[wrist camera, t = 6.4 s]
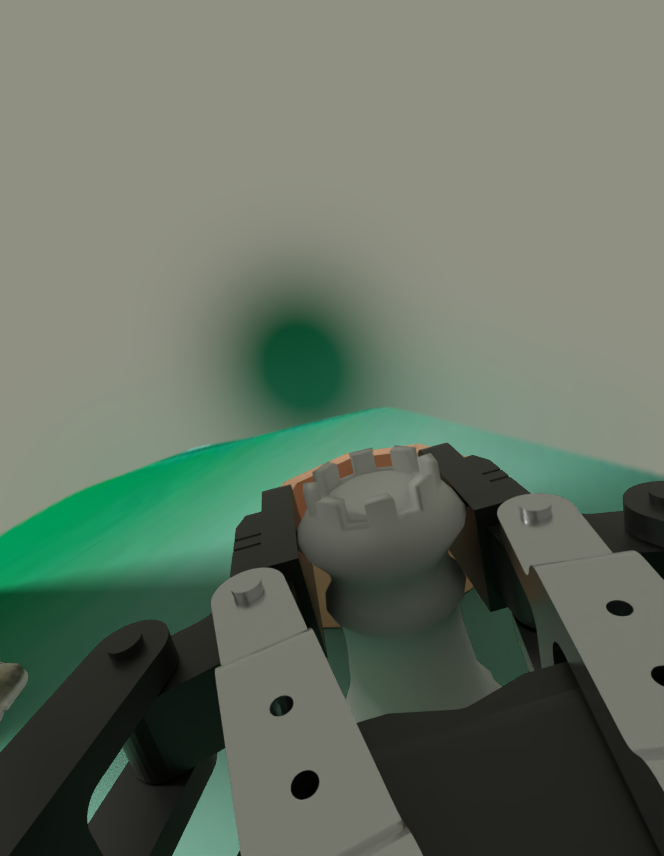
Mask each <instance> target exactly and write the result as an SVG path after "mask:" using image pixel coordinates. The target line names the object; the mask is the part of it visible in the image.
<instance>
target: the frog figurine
mask: <svg viewBox="0 0 664 856" xmlns="http://www.w3.org/2000/svg"><path fill="white" fill-rule="evenodd" d="M27 681H28V673H27V672H26V670H25V669H23V668H22V666H21V665H20V664H18V663H3V662H1V661H0V721H1V719H2V717H3V715H4V713H5V712H6V711H7V710H8V709H9V708H10V706H11V704H12V703H13V702H14V700H15V699H16V698H17V696H18V695H19V694H20V692H21V691H22V690H23V688H24V687H25V685H26V684H27Z"/></svg>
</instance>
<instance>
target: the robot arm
mask: <svg viewBox="0 0 664 856" xmlns="http://www.w3.org/2000/svg"><path fill="white" fill-rule="evenodd" d="M429 453H431V454H432V455H433V457H434V458H435V459H436V461H437V462H438V467H439V472H440V478H441V480H442V481H443V482H444V483H446V484H447V485H448V486H449V487H451V488H452V489H453V490H454V491H455V492H456V493H457V494H458V496H459V497H460V498H461V499H462V501H463V502H464V503H465V505H466V506H467V511H466V518H465V524H464V527H463V528H462V530H461V531H460V533H459V534H458V536H457V537H456V539H455V541H454V542H453V544H452V545H451V547H450V548H449V550H450V552H451V553H452V555H453V556H454V558H455V559H456V560H457V561H458V563H459V565H460V566H461V568H462V570H463V571H464V573H465V574H466V576H467V577H468V579H469V580H470V582H471V583H472V585H473V586H474V588H475V589H476V591H477V592H478V594H479V595H480V597H481V598H482V600H483V601H484V603H485V604H486V606H487V607H488V609H489V610H490V612H492V611H496V610H499V609H503V608H506V607H508V608H509V609H510V610H511V612H512V619H513V625H514V631H515V635H516V637H517V640H518V643H519V645H520V648H521V651H522V653H523V656H524V658H525V661H526V664H527V666H528V669H529V672H528V673H525V674H523V675H521V676H520V677H518V678H516V679H515V680H513V681H511V682H509V683H508V684H506V685H504V686H503V687H501V688H499V689H497V690H496V691H494V692H492V693H491V694H489V695H487V696H486V697H484V698H482V699H480V700H479V701H477V702H475V703H474V704H472V705H470V706H468V707H466V708H462V709H456V710H439V711H422V712H406V713H389V714H385V715H382V716H378V717H375V718H371V719H368V720H364V721H361V722H358V723H356V721H355V719H354V717H353V715H352V713H351V711H350V708H349V706H348V704H347V702H346V700H345V698H344V696H343V693H342V691H341V689H340V687H339V685H338V683H337V680H336V678H335V676H334V674H333V672H332V670H331V668H330V665H329V663H328V661H327V659H326V658H328V657H327V651H326V645H325V639H324V632H323V626H322V620H321V614H320V607H319V601H318V595H317V589H316V582H315V576H314V570H313V564H312V563H311V562H310V561H309V560H308V559H307V558H306V557H305V556H304V555H303V554H302V553H301V552H300V551H299V550H298V546H297V535H296V531H297V529H298V526H299V524H300V522H301V517H300V514H299V510H298V507H297V503H296V500H295V496H294V493H293V489H292V486H291V484H289V485H285V486H282V487H278V488H274V489H270V490H267V491H263V492H262V512H259V513H255V514H251V515H247V516H245V517H244V519H243V520H242V521H241V523H240V524H239V525H238V526H237V528H236V533H235V542H234V549H233V550H234V552H233V557H232V565H231V573H230V579H228V580H227V581H225V582H224V583H223V584H222V585H221V586H220V587H219V588H218V589H217V590H216V591H215V593H214V595H213V596H212V599H211V608H212V613H211V614H210V615H209V616H207V617H206V618H204V619H203V620H201V621H200V622H198V623H196V624H194V625H192V626H190V627H188V628H186V629H184V630H182V631H180V632H178V633H176V634H174V635H172V636H171V635H170V632H169V630H168V627H167V626H166V624H165V623H163V622H161V621H158V620H144V621H139V622H136V623H132V624H130V625H127V626H125V627H123V628H121V629H119V630H117V631H116V632H114V633H112V634H111V635H109V636H108V637H107V638H105V639H104V640H103V641H102V642H100V643H99V644H98V645H97V646H96V647H95V648H94V649H93V651H92V652H91V653H90V654H89V655H88V656H87V657H86V658H85V659H84V661H83V662H82V663H81V664H80V665H79V666H78V667H77V668H76V669H75V670H74V672H73V673H72V674H71V675H70V676H69V677H68V678H67V679H66V680H65V682H64V683H63V684H62V685H61V686H60V687H59V688H58V689H57V690H56V692H55V693H54V694H53V695H52V696H51V697H50V698H49V699H48V700H47V701H46V703H45V704H44V705H43V706H42V707H41V708H40V709H39V710H38V711H37V713H36V714H35V715H34V716H33V717H32V718H31V719H30V720H29V721H28V722H27V724H26V725H25V726H24V727H23V728H22V729H21V730H20V731H19V732H18V734H17V735H16V736H15V737H14V738H13V739H12V740H11V741H10V742H9V744H8V745H7V746H6V747H5V748H4V749H3V750H2V751H1V752H0V856H172V855H173V853H174V851H175V849H176V847H177V844H178V842H179V840H180V838H181V836H182V834H183V832H184V830H185V828H186V826H187V824H188V822H189V820H190V817H191V815H192V813H193V811H194V809H195V807H196V805H197V803H198V801H199V799H200V797H201V795H202V793H203V790H204V788H205V786H206V784H207V782H208V780H209V778H210V776H211V774H212V772H213V769H214V767H215V764H216V760H217V752H219V751H221V750H222V749H224V748H226V755H227V762H228V768H229V775H230V782H231V789H232V796H233V803H234V810H235V817H236V824H237V831H238V838H239V845H240V851H239V853H238V855H237V856H664V481H655V482H647V483H642V484H638V485H636V486H633V487H631V488H629V489H628V490H627V491H626V492H625V493H624V495H623V510H624V511H619V512H607V513H595V514H581V513H580V512H579V511H578V509H577V508H576V507H575V506H574V505H573V504H572V503H571V502H570V501H569V500H567V499H565V498H563V497H560V496H557V495H552V494H542V493H535V494H531V493H529V492H528V491H527V490H526V489H525V488H523V487H522V486H521V485H520V484H518V483H517V482H516V481H515V480H513V479H512V478H511V477H509V476H508V475H507V474H506V473H505V472H504V471H502V470H500V468H499V467H498V466H496V465H495V464H494V463H493V462H491V461H490V460H488V459H484V458H481V457H478V456H474V455H471V456H468V457H463V456H462V455H461V454H460V453H458V452H457V451H456V450H455V449H454V448H453V447H452V446H451V445H450V444H449V443H443V444H440V445H436V446H432V447H428V448H425V449H421V450H419V451H418V457H420V456H423V455H426V454H429ZM122 747H123V749H124V752H125V754H126V756H127V758H128V760H129V762H128V763H127V765H126V766H125V768H124V769H123V771H122V773H121V774H120V776H119V777H118V779H117V780H116V782H115V783H114V785H113V786H112V788H111V790H110V791H109V793H108V794H107V796H106V797H105V799H104V800H103V802H102V803H101V805H100V806H99V808H98V810H97V811H96V813H95V814H94V816H93V817H92V819H91V820H90V822H89V823H87V812H88V806H89V802H90V799H91V796H92V794H93V792H94V790H95V788H96V786H97V784H98V783H99V781H100V780H101V778H102V777H103V775H104V774H105V772H106V771H107V769H108V768H109V766H110V765H111V763H112V762H113V760H114V759H115V758H116V756H117V755H118V753H119V752H120V750H121V749H122Z"/></svg>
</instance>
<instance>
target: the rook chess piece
mask: <svg viewBox="0 0 664 856" xmlns="http://www.w3.org/2000/svg"><path fill="white" fill-rule="evenodd" d="M389 452H390V456H391V461H392V466H391V467H378V468H376V464H375V459H374V455H373V450H372V448H369V449H364V450H360V451H356V452H352V453H349V456H350V460H351V464H352V469H353V474H350V475H348V476H346V477H343V478H341V479H340V476H339V471H338V467H337V464H335V463H331V462H327V463H325V464H324V465H322V466H321V467H319V468H318V469H316V470H315V471H313V472H312V474H313V478H314V481H315V482H310V483H304V484H303V495H304V498H305V502H306V506H307V510H306V512H305V514H304V516H303V518H302V520H301V522H300V524H299V526H298V529H297V531H296V535H297V546H298V550H299V551H300V552H301V553H302V554H303V555H304V556H305V557H306V558H307V559H308V560H309V561H310V562H311V563H312V564H314V565H315V566H317V567H318V568H320V569H321V570H323V571H325V572H326V573H328V574H329V575H330V577H331V579H332V580H331V582H330V584H329V586H328V588H327V590H326V592H325V597H326V608H327V611H328V612H329V614H330V615H331V616H332V617H333V618H334V619H335V621H336V622H337V623H338V624H339V625H340V626H342V628H343V632H344V635H345V639H346V643H347V649H348V658H349V668H350V677H351V683H350V688H349V691H348V694H347V697H346V699H345V700H346V702H347V704H348V706H349V708H350V711H351V713H352V715H353V717H354V719H355V721H356V723H358V722H361V721H364V720H368V719H371V718H375V717H378V716H382V715H385V714H389V713H406V712H422V711H439V710H456V709H462V708H466V707H468V706H470V705H472V704H474V703H475V702H477V701H479V700H480V699H482V698H484V697H486V696H487V695H489V694H491V693H492V692H494V691H496V690H497V689H499V688H501V687H502V686H501V685H499V684H498V683H497V682H496V681H495V680H494V678H493V676H492V674H491V672H490V671H489V670H488V669H486V668H485V667H484V666H483V665H482V664H481V663H479V662H478V661H477V658H476V655H475V653H474V650H473V647H472V644H471V641H470V639H469V636H468V633H467V630H466V627H465V624H464V622H463V617H462V611H461V606H460V600H461V599H462V597H463V596H464V592H465V583H466V575H465V574H464V572H463V570H462V568H461V566H460V565H459V563H458V561H457V560H455V559H454V558H452V557H451V556H449V548H450V547H451V545H452V544H453V542H454V541H455V539H456V537H457V536H458V534H459V533H460V531H461V530H462V528H463V527H464V524H465V518H466V511H467V506H466V505H465V503H464V502H463V501H462V499H461V498H460V497H459V496H458V494H457V493H456V492H455V491H454V490H453V489H452V488H451V487H449V486H448V485H447V484H446V483H444V482H443V481H442V480H441V478H440V472H439V467H438V462H437V461H436V459H435V458H434V457H433V455H432V454H431V453H429V454H426V455H423V456H420V457H417V452H416V447H407V446H394V447H393V448H392V449H391V450H390V451H389Z"/></svg>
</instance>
